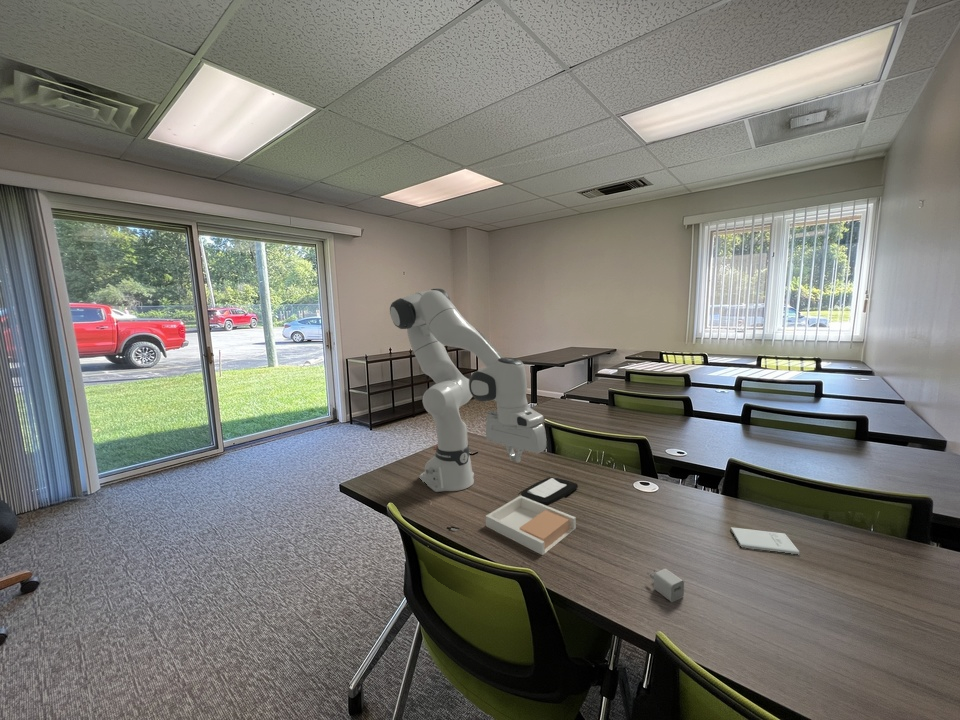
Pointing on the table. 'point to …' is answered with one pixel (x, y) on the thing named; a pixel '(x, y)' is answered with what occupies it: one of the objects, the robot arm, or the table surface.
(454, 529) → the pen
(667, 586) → the usb wall charger
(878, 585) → the table surface
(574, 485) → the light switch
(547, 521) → the light orange flat block
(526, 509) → the open box
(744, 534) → the external hard drive
